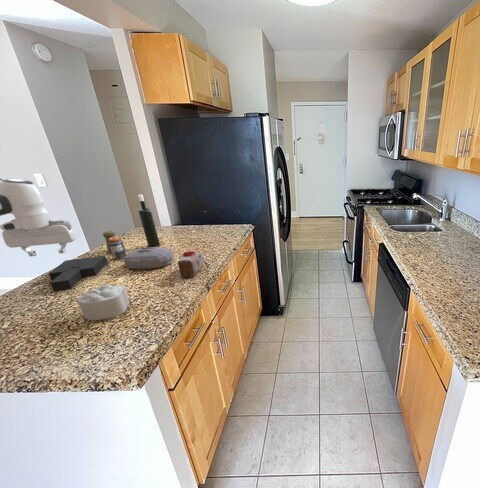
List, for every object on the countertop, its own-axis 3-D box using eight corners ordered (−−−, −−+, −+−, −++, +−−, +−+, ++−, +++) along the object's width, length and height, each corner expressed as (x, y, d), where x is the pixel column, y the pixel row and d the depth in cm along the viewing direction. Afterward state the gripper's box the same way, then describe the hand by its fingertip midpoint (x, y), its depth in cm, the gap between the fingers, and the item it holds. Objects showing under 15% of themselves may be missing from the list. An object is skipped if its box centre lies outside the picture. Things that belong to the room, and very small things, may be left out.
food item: (189, 264, 129) (185, 246, 125) (206, 263, 130) (202, 245, 126) (179, 278, 116) (174, 258, 113) (197, 276, 118) (193, 257, 114)
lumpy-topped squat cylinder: (122, 315, 92) (114, 295, 89) (77, 323, 88) (67, 302, 85) (132, 299, 101) (125, 280, 98) (92, 306, 97) (84, 286, 94)
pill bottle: (118, 255, 140) (111, 235, 135) (129, 254, 140) (123, 235, 136) (110, 260, 134) (103, 240, 130) (123, 259, 135) (116, 239, 130)
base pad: (52, 281, 114) (48, 273, 113) (68, 267, 126) (65, 260, 125) (96, 275, 119) (93, 267, 118) (107, 262, 132) (105, 255, 130)
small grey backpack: (122, 272, 122) (166, 270, 124) (116, 256, 119) (162, 254, 121) (140, 258, 136) (180, 256, 138) (136, 243, 133) (176, 242, 134)
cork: (119, 246, 151) (114, 228, 147) (121, 249, 147) (115, 231, 143) (106, 249, 147) (100, 231, 143) (108, 252, 143) (101, 234, 139)
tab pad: (53, 291, 107) (49, 282, 105) (69, 276, 118) (66, 268, 117) (71, 288, 109) (68, 280, 107) (85, 274, 120) (82, 266, 119)
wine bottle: (153, 247, 149) (139, 196, 138) (146, 246, 151) (131, 195, 140) (162, 244, 154) (148, 194, 143) (155, 243, 156) (141, 193, 145)
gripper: (72, 217, 107) (83, 248, 112) (6, 221, 100) (21, 254, 105) (64, 221, 101) (76, 254, 106) (-7, 226, 95) (9, 260, 100)
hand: (48, 254), depth 106 cm, fingers open, 8 cm apart
